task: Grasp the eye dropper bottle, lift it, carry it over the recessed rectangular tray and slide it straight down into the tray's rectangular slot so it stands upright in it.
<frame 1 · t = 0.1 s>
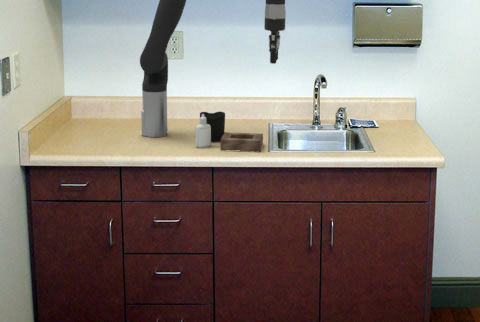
hand: (274, 61, 284), 29 cm above the worktop, fingers open, 8 cm apart
eye dropper bottle: (203, 147, 280), on the worktop
recessed rectangular tray: (242, 147, 279), on the worktop
pen holder: (212, 140, 290), on the worktop
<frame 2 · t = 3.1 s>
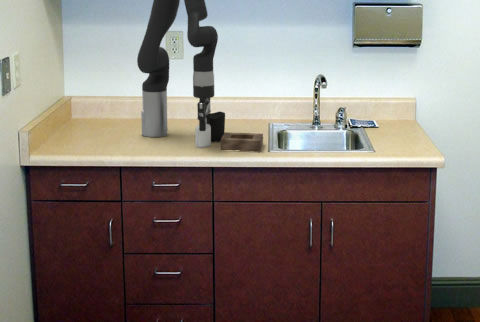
hand: (204, 128, 278), 7 cm above the worktop, fingers open, 8 cm apart
pen holder: (212, 140, 290), on the worktop, touching gripper
everything else where it was.
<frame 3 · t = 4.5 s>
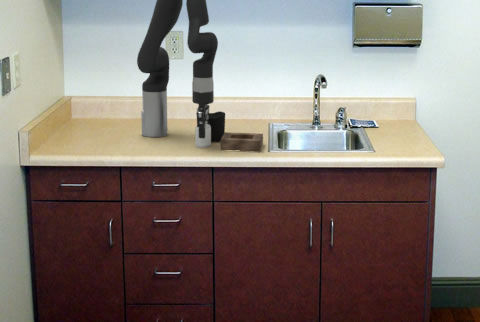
hand: (203, 136, 279), 4 cm above the worktop, fingers closed on eye dropper bottle, 4 cm apart
eye dropper bottle: (203, 147, 280), on the worktop, touching gripper
pen holder: (212, 140, 290), on the worktop
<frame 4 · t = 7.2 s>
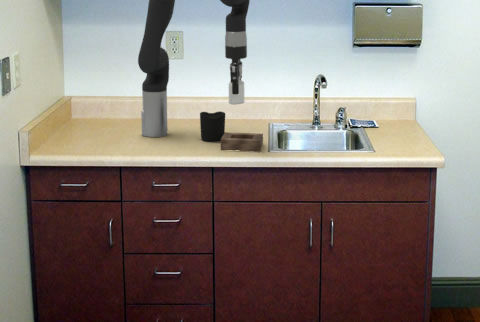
hand: (236, 92, 274), 20 cm above the worktop, fingers closed on eye dropper bottle, 4 cm apart
eye dropper bottle: (236, 104, 275), point 16 cm above the worktop, touching gripper
everything else where it was.
when the fingers open (6 cm above the worktop, at t = 10.1 s): eye dropper bottle stays where it is, resting on recessed rectangular tray.
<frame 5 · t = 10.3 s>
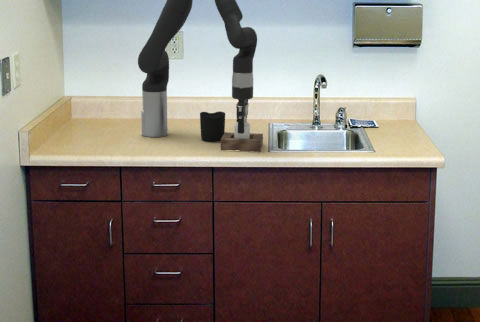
hand: (242, 130, 278), 6 cm above the worktop, fingers open, 6 cm apart
eye dropper bottle: (241, 145, 279), point 1 cm above the worktop, touching recessed rectangular tray
everything else where it was.
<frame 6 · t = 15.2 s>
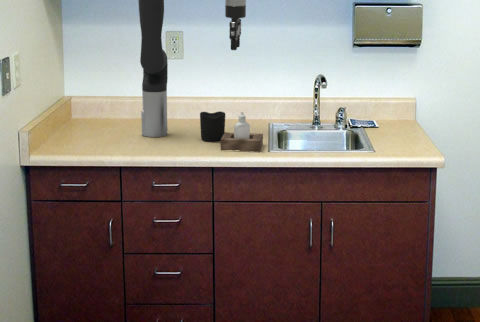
hand: (235, 48, 288), 33 cm above the worktop, fingers open, 8 cm apart
nothing on the worktop moved.
at the end: eye dropper bottle 0.1 cm off-centre on the recessed rectangular tray, point 0.8 cm above the recessed rectangular tray's base; eye dropper bottle tilted 0°; the gripper is holding nothing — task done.
